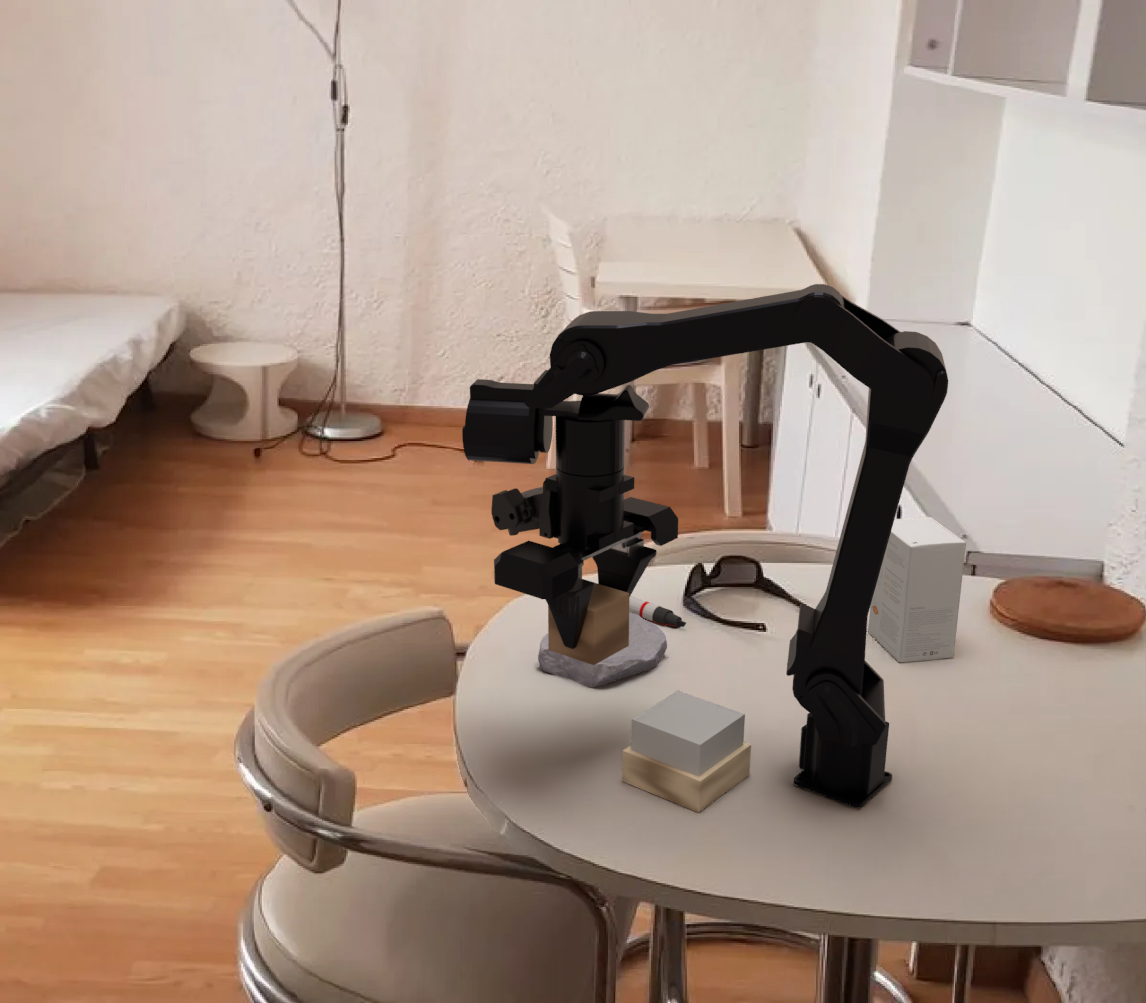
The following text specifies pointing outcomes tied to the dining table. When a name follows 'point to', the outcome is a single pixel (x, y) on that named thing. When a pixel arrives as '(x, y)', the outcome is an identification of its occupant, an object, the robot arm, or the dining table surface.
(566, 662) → the stone block
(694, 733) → the grey block
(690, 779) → the beech base block
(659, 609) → the marker
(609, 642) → the walnut cube
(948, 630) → the small box
